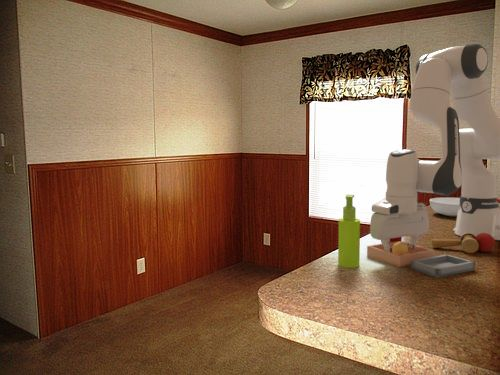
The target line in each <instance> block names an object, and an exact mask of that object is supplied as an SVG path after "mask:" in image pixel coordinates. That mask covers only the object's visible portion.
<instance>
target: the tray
mask: <svg viewBox="0 0 500 375" xmlns="http://www.w3.org/2000/svg"><path fill="white" fill-rule="evenodd" d="M475 267H476V261H472V260H469V259H466V258H462V257H458V256H455V255H451V254H447V253H445V254H441V255H436V256H435V255H434V257H429V258H424V259H418V260H413V261H411V266H410V270H411V271H416V272H419V273H422V274H424V275H428V276H430V277H433V278H436V279H440V278H445V277H449V276H453V275H459V274H464V273H469V272H473V271H475V270H476V268H475Z"/></svg>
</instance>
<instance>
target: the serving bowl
mask: <svg viewBox="0 0 500 375" xmlns="http://www.w3.org/2000/svg"><path fill="white" fill-rule="evenodd" d="M459 200H460V197H434V198H430V199H429V205H430V207H431V209H432V210H433V211H434V212H436V213H438V214H440V215H443V216H446V217H455V218H457V214H458V210H459V209H460V207H461V206H460V202H459Z"/></svg>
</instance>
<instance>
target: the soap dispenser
mask: <svg viewBox="0 0 500 375" xmlns="http://www.w3.org/2000/svg"><path fill="white" fill-rule="evenodd" d="M354 198H355V195H354V194H346V195H345V200H346V201H345V202H346V203H345V204H346V205H345V206H343V207H342V208H343V209H342V210H343V211H342V218H339V219H338V239H337V240H338V243H337V244H338V249H337V250H338V253H337V254H338V256H337V258H338V262H337V263H338V266H339V267H342V268H345V269H346V268H348V269H353V268H354V269H355V268H358V267H360V252H361V250H360V248H361V247H360V245H361V244H360V241H361V240H360V239H361V238H360V237H361V234H360V233H361V220H360V219H358V218H356V207H355V206H354V205H353V199H354Z"/></svg>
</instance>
